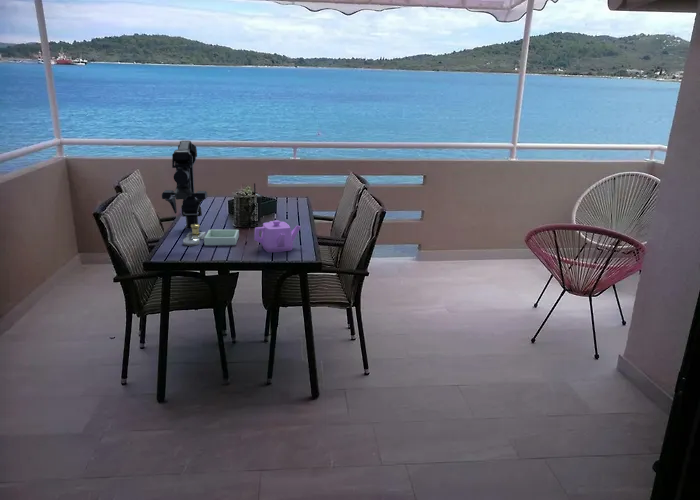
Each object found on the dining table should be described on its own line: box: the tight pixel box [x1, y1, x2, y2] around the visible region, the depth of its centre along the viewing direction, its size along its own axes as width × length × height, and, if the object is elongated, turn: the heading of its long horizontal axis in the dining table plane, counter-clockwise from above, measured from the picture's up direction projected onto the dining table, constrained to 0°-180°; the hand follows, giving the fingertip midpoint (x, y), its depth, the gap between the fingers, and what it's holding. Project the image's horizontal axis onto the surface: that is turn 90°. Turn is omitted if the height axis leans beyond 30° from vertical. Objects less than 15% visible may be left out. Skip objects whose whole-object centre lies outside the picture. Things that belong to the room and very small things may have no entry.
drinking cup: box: [253, 183, 263, 222], centre depth 264 cm, size 8×8×20 cm
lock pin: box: [191, 223, 201, 235], centre depth 233 cm, size 4×4×6 cm
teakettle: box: [253, 219, 301, 253], centre depth 221 cm, size 17×17×12 cm
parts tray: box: [203, 229, 240, 246], centre depth 229 cm, size 14×14×4 cm
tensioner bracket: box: [182, 231, 207, 247], centre depth 229 cm, size 17×8×3 cm, turn 5°
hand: (186, 213), depth 225 cm, fingers open, 9 cm apart
